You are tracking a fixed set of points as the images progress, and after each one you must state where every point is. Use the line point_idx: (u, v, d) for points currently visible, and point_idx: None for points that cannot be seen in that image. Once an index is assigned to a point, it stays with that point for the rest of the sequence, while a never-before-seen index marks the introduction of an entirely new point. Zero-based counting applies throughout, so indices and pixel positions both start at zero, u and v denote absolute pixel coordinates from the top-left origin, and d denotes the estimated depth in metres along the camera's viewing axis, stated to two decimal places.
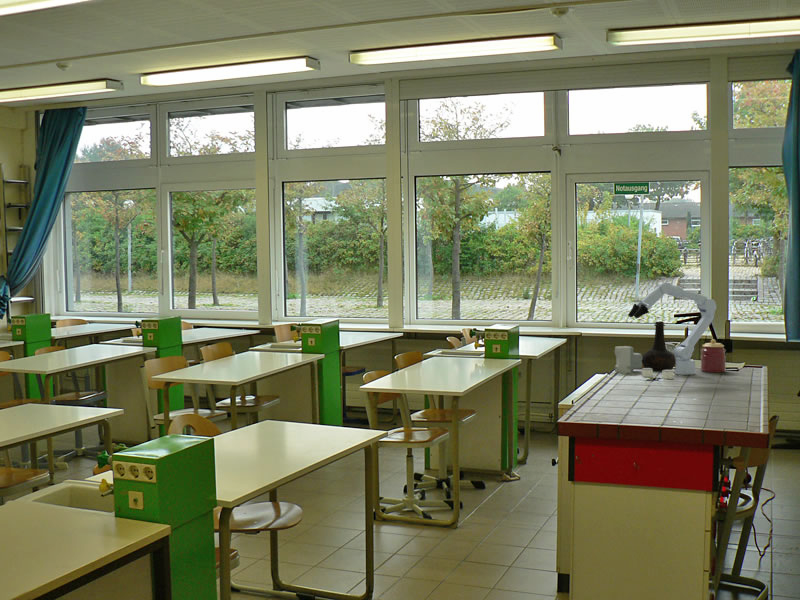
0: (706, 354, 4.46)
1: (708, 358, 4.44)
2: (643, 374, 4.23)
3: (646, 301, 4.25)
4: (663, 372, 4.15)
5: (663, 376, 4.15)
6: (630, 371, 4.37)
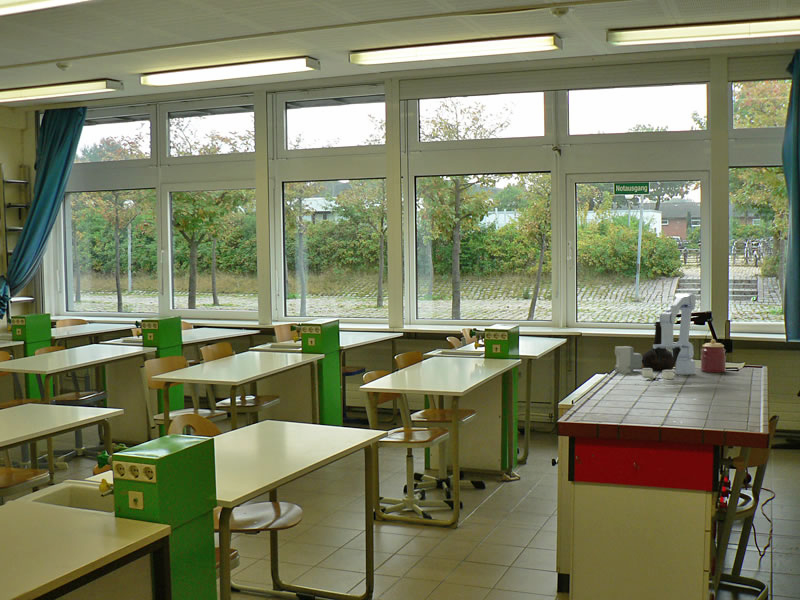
0: (706, 354, 4.46)
1: (708, 358, 4.44)
2: (643, 374, 4.23)
3: None
4: (663, 372, 4.15)
5: (663, 376, 4.15)
6: (630, 371, 4.37)
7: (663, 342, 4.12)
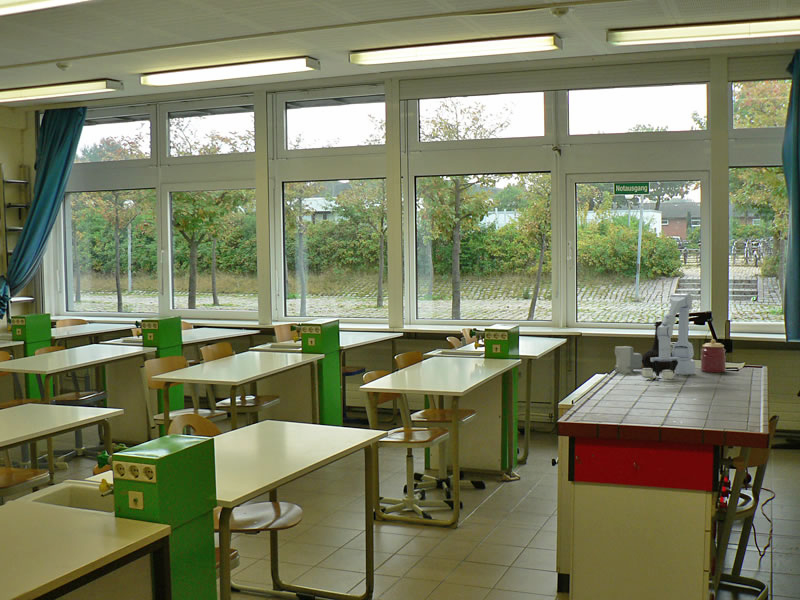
0: (706, 354, 4.46)
1: (708, 358, 4.44)
2: (643, 374, 4.23)
3: (670, 355, 4.12)
4: (663, 372, 4.15)
5: (663, 376, 4.15)
6: (630, 371, 4.37)
7: (660, 355, 4.12)
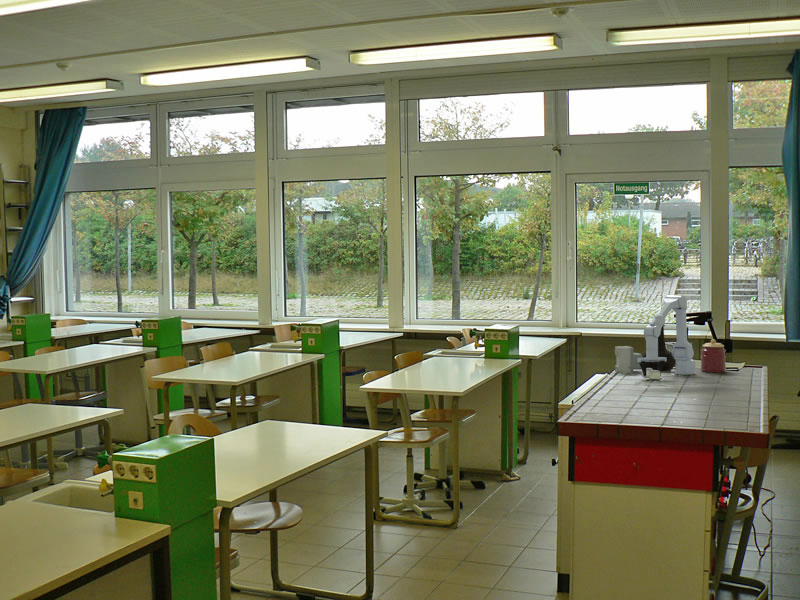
0: (706, 354, 4.46)
1: (708, 358, 4.44)
2: None
3: (657, 355, 4.12)
4: (650, 372, 4.14)
5: (650, 377, 4.14)
6: (630, 371, 4.37)
7: (648, 356, 4.12)
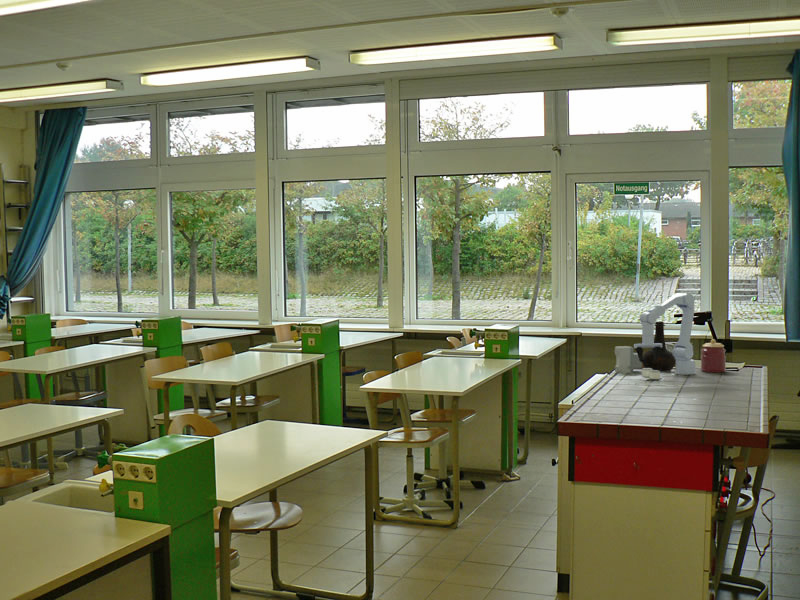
0: (706, 354, 4.46)
1: (708, 358, 4.44)
2: (643, 374, 4.23)
3: (653, 341, 4.19)
4: (650, 372, 4.14)
5: (650, 377, 4.14)
6: (630, 371, 4.37)
7: (644, 341, 4.19)
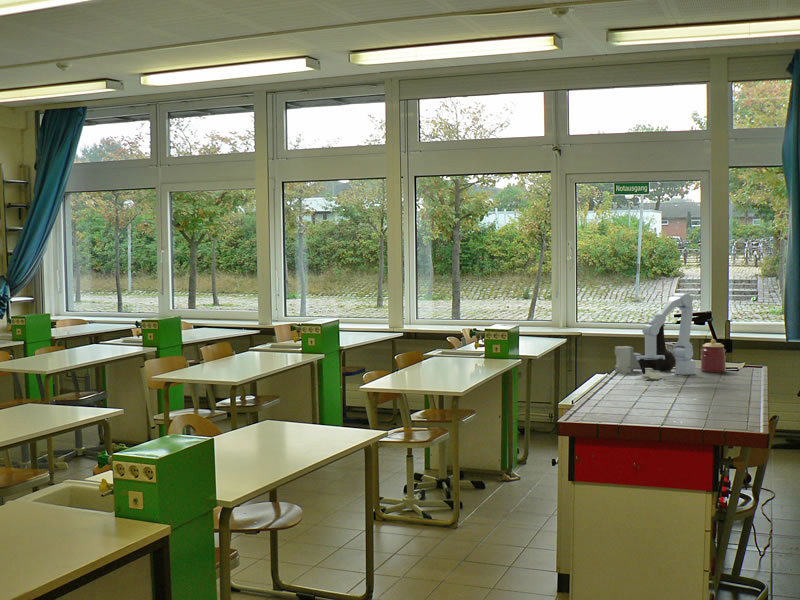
0: (706, 354, 4.46)
1: (708, 358, 4.44)
2: (644, 374, 4.23)
3: None
4: (650, 372, 4.14)
5: (650, 377, 4.14)
6: (630, 371, 4.37)
7: (646, 354, 4.21)
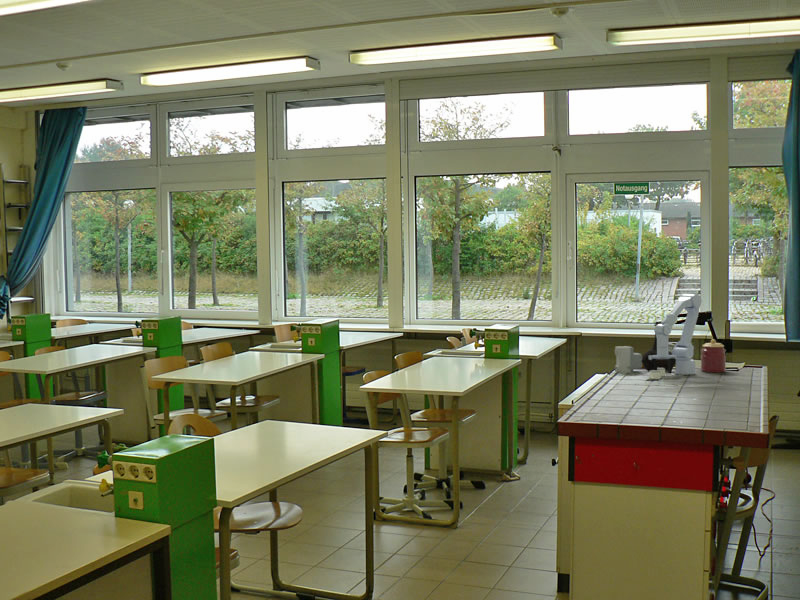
0: (706, 354, 4.46)
1: (708, 358, 4.44)
2: None
3: None
4: (650, 372, 4.14)
5: (650, 377, 4.14)
6: (630, 371, 4.37)
7: (658, 353, 4.21)
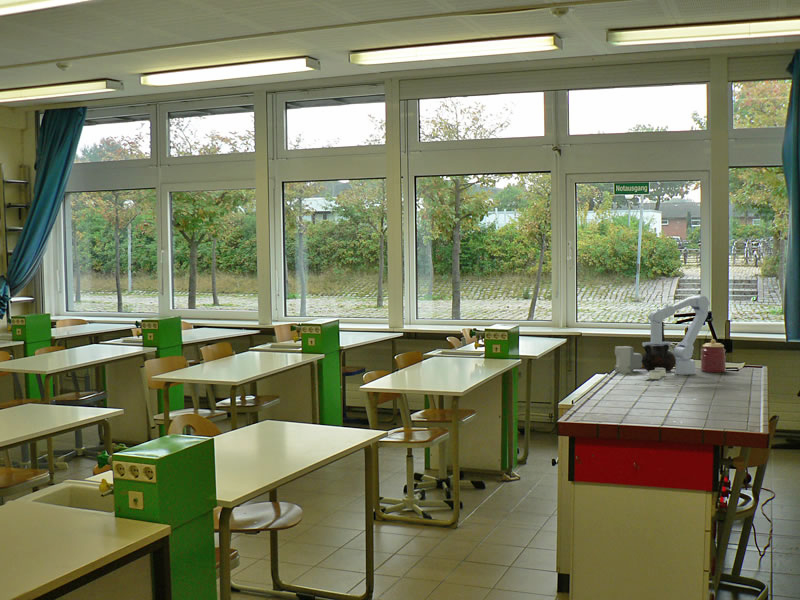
0: (706, 354, 4.46)
1: (708, 358, 4.44)
2: None
3: (661, 340, 4.26)
4: (650, 372, 4.14)
5: (650, 377, 4.14)
6: (630, 371, 4.37)
7: (652, 340, 4.26)
